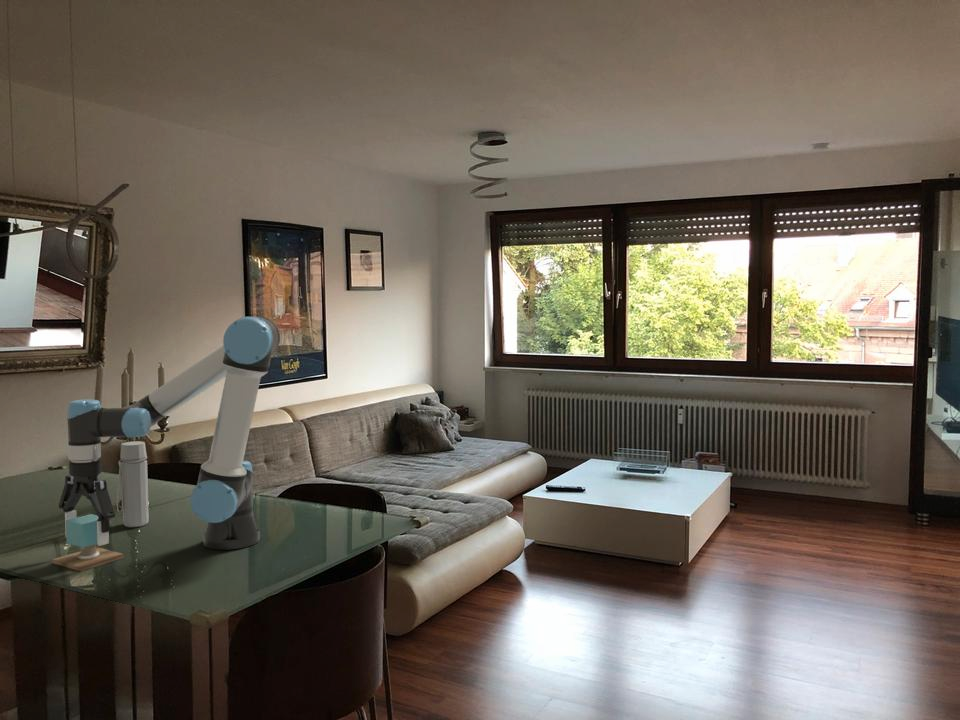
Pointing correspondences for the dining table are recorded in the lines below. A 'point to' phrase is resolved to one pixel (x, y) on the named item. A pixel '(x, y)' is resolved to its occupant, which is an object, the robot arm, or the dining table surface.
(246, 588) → the dining table surface
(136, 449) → the water bottle
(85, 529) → the teal block
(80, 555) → the wooden peg stand
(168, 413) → the robot arm
